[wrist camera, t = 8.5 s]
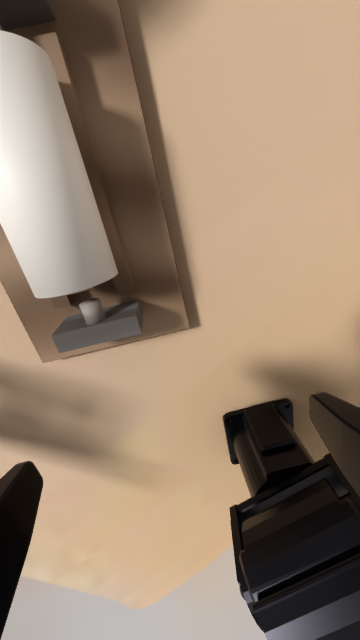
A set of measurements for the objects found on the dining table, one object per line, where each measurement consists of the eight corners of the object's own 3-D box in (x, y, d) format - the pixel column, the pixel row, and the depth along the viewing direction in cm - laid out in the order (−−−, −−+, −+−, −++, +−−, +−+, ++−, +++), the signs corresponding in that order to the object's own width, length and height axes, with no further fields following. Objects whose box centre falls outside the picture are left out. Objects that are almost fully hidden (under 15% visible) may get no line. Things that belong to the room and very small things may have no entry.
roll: (123, 270, 16) (113, 290, 12) (55, 286, 16) (21, 311, 12) (64, 74, 12) (17, 2, 8) (-27, 95, 12) (-120, 33, 8)
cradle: (187, 322, 19) (195, 347, 16) (48, 356, 19) (23, 389, 15) (101, -69, 11) (77, -206, 8) (-138, -17, 11) (-279, -132, 8)
